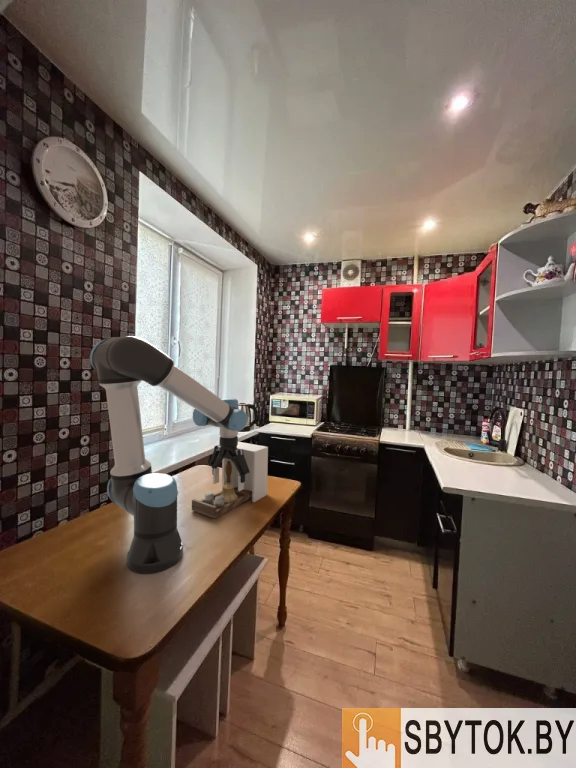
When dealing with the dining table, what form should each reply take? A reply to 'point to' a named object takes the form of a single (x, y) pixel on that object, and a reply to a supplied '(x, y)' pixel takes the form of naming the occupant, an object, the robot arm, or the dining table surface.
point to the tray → (214, 509)
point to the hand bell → (228, 486)
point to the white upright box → (257, 467)
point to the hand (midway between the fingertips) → (228, 486)
